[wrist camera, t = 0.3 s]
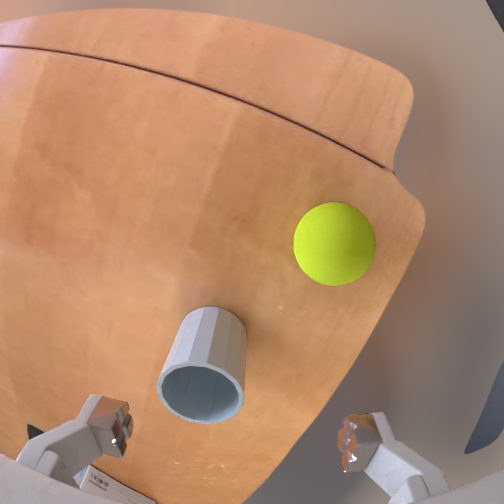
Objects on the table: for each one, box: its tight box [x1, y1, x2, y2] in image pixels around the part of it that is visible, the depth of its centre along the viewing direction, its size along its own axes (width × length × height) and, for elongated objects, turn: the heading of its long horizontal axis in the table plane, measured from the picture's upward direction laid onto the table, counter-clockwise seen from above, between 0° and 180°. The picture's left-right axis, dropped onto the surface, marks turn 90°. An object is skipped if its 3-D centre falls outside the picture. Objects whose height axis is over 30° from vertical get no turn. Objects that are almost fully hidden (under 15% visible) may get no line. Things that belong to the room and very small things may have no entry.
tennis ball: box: [293, 202, 376, 286], centre depth 24 cm, size 7×7×7 cm
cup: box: [157, 307, 247, 424], centre depth 26 cm, size 7×7×9 cm
